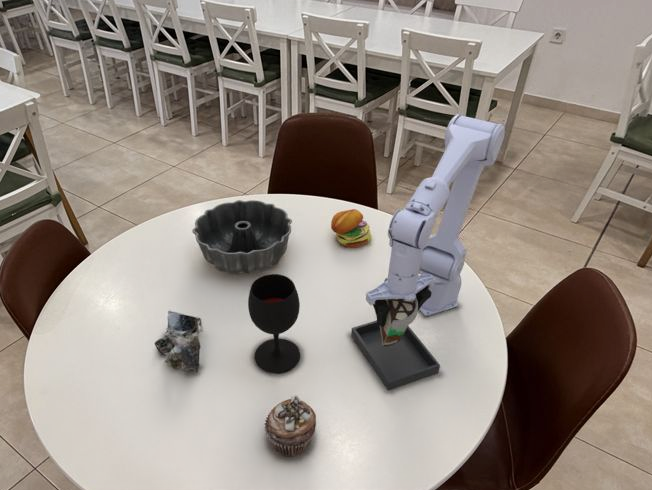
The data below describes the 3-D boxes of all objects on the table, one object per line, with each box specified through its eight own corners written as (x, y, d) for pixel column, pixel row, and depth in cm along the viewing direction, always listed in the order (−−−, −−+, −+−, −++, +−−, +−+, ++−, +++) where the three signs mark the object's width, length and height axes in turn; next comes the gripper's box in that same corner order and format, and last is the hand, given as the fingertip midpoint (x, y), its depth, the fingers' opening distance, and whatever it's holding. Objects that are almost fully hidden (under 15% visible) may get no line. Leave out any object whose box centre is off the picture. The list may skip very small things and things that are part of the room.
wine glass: (266, 380, 106) (259, 312, 92) (246, 349, 113) (237, 281, 99) (308, 362, 109) (308, 294, 95) (287, 333, 116) (284, 265, 102)
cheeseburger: (369, 252, 138) (362, 221, 131) (332, 254, 142) (324, 224, 136) (374, 231, 145) (369, 201, 138) (339, 234, 149) (332, 205, 142)
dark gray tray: (397, 321, 118) (398, 313, 116) (438, 373, 106) (440, 365, 104) (351, 336, 115) (351, 327, 113) (387, 390, 103) (389, 382, 101)
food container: (413, 353, 103) (425, 323, 95) (383, 352, 103) (393, 323, 95) (404, 307, 111) (414, 276, 103) (376, 306, 111) (385, 276, 103)
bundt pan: (264, 219, 152) (262, 189, 145) (311, 263, 135) (311, 232, 128) (184, 247, 142) (177, 217, 135) (223, 298, 126) (218, 266, 119)
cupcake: (291, 409, 100) (290, 377, 93) (326, 439, 95) (327, 408, 88) (255, 438, 96) (251, 407, 89) (289, 471, 91) (288, 440, 84)
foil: (219, 316, 116) (194, 329, 101) (214, 360, 118) (188, 379, 104) (173, 307, 118) (142, 318, 103) (168, 350, 120) (137, 367, 106)
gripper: (380, 290, 91) (374, 341, 100) (448, 270, 94) (436, 321, 103) (362, 268, 95) (358, 319, 105) (428, 250, 99) (417, 301, 108)
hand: (395, 319), depth 104 cm, fingers closed on food container, 7 cm apart
